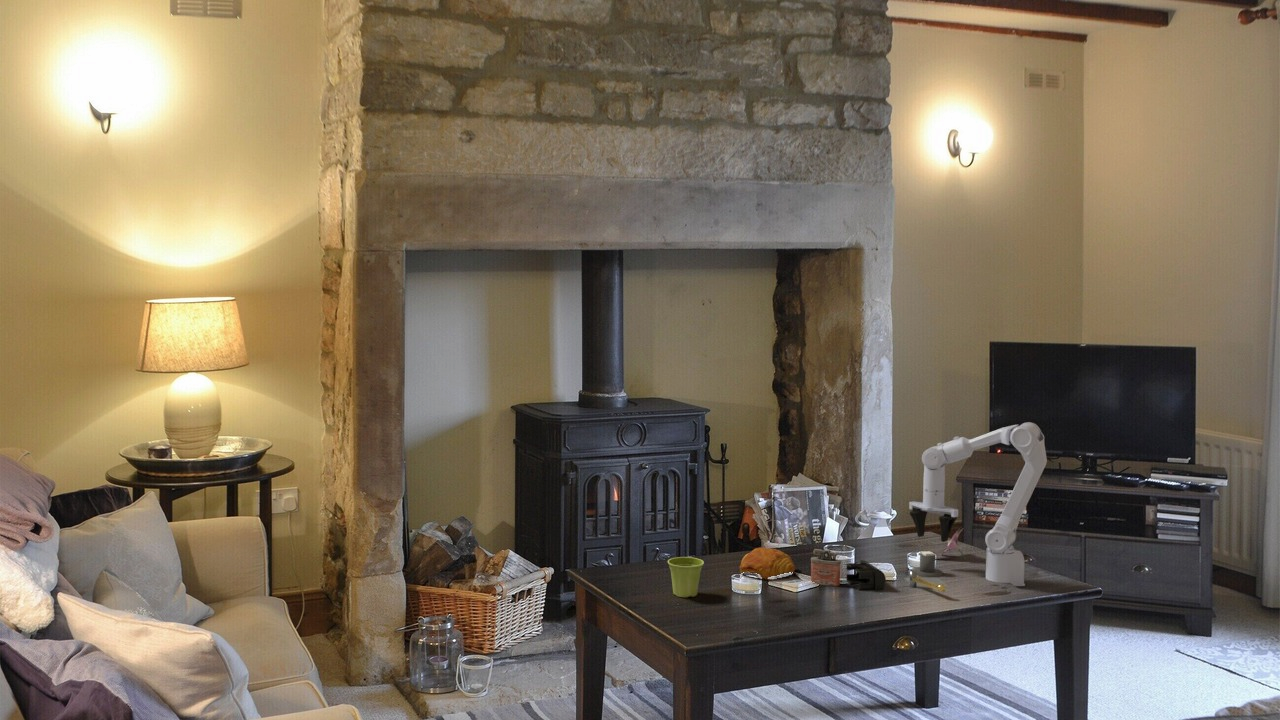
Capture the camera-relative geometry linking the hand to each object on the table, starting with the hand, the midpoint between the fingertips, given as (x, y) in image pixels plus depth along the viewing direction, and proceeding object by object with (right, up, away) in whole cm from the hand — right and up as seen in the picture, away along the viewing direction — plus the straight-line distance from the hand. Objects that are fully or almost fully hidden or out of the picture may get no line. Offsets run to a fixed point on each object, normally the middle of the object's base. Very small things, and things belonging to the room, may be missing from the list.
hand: (932, 538), depth 311 cm
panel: (-4, -11, -14) cm, 18 cm away
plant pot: (-69, -11, -21) cm, 73 cm away
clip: (-7, -10, -22) cm, 25 cm away
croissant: (-46, -10, 0) cm, 48 cm away
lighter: (-32, -11, -13) cm, 36 cm away
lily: (+10, -9, +18) cm, 23 cm away
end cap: (-22, -11, -15) cm, 29 cm away
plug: (-2, -10, -3) cm, 11 cm away
